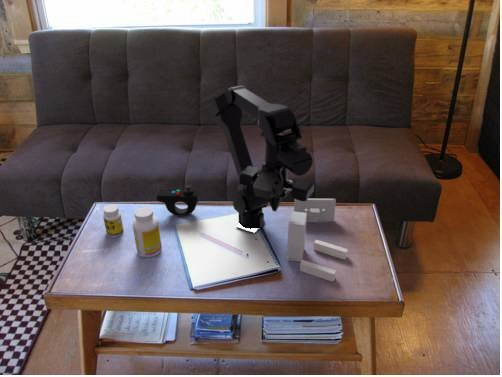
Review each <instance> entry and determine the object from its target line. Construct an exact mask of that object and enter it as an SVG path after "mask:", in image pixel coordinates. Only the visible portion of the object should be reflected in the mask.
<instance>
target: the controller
mask: <svg viewBox="0 0 502 377" xmlns="http://www.w3.org/2000/svg"><path fill="white" fill-rule="evenodd" d="M198 192H199V191H198V189H193V188H192V184H186V185H184V188H183V189H161V190H159V191H158V192H157V194H156V201H158V202H160V203H163V204H164V205H165V207H166V210H167V211H168V212H169V213H170V214H172V215H174V216H177V217H186V216H188V215H189V216H190V215H191V214H192V213H193V212H194V211H195V210H196V207H197V205H198V204H197V203H199V195H198ZM176 203H184V204H186V205H187V207H185V208H179V207H178V206H177V205H176Z"/></svg>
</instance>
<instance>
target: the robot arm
mask: <svg viewBox="0 0 502 377" xmlns="http://www.w3.org/2000/svg"><path fill="white" fill-rule="evenodd" d="M208 108H209V113H210V115H211V117H212V118H213V120H214V123H215V124H216V125H217V127H219V128H220V130H222V131H223V133H224V135H225V139H226V141H227V145H228V149H229V151H230V155H231V158H232V161H233V164H234V169H235V170H236V174H237V177H238V178H237V179H238V185H237V189H236V194H237V197H236V199H234V200H233V201H232V205H233V209H234V211H236V212H237V213H238V223H240V224H241V225H242V226H243V227H245V228H250V229H251V228H260V229H262V227H263V226H264V224H265V222H266V221H265V214H264V212H263V209H264V208H267V207H268V205H270V208H271V210H272V211H273V212H277V211H278V209H279V207H280V204H281V203H282V201H283V199H284V198H286V197H287V196H288V195H289V193H290V196H291V198H292V199H293V200H295V199H296V200H300V201H307V199H308V198H310V197H311V196H312V194H313V193H314V192H315V184H314V183H313V181H310V180H306V179H302V178H298V179H297V181H296V182H293V180H291V179H288V178H290V172H291V173H292V174H294V175H295V176H297V177H299V176H300V177H301V176H304V175H306V174H307V173H308V172H309V171H310V169H311V168H312V166H313V163H314V160H313V156H312V155H311V154H310V152H308V151H307V147H306V146H305V145H303V144H300V143H298V142H297V141H299V140H302V138H303V136H302V133H301V131H302V130H301V128H300V126H299V123H298V122H297V118H296V116H295V114H294V112H293V110H292V109H291V108H290V107H289V106H286V105H283V104H279V103H269V102H268V101H267V100H265V99H263V98H262V97H260V96H258V95H257V94H255V93H254V92H252V91H250V90H249V89H248V88H247V87H246V85H235V86H232V87H228V88H227V89H226V90H225V91H224V92H223V93H222V94H221V93H220V95H218V96H217V97H215V98H214V99H212V101H211V102H210V104H209V106H208ZM243 112H244V113H247V114H248V115H250V117H253V119H255V120H256V121H257V124H258V128H259V129H260V130H261V132H260V136H262V137H263V138H264V162H263V163H262V165H261V166H262V167H261V168H260V167H256V166H254V165H253V161H252V159H251V155H250V151H249V149H248V145H247V142H246V139H245V136H244V133H243V129H242V126H241V124H242V121H243V116H244V113H243ZM289 131H291V132H289ZM285 132H289V133H286V134H282V133H285ZM289 171H290V172H289Z"/></svg>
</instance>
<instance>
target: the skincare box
mask: <svg viewBox="0 0 502 377" xmlns="http://www.w3.org/2000/svg"><path fill="white" fill-rule="evenodd" d="M306 221H307V213H303V212H294V210H293V211H291V213H290V216H289V222H288V229H287V230H288V231H287V232H288V233H287V249H286V250H287V251H286V261H290V262H297V263H299V262H300V263H301V262H302V260H304V251H305V244H306V234H307V233H306V232H307V222H306Z"/></svg>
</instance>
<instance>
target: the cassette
mask: <svg viewBox="0 0 502 377" xmlns="http://www.w3.org/2000/svg"><path fill="white" fill-rule="evenodd" d="M293 203H294V204H293V205H294V207H293V211H294V212H303V213H307V221H306V223H328V222H330V223H331V222H334V221H335V212H336V203H337V200H336V198H310V197H309V198H308V199H307V201H300V200H296V199H294V202H293Z"/></svg>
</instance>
